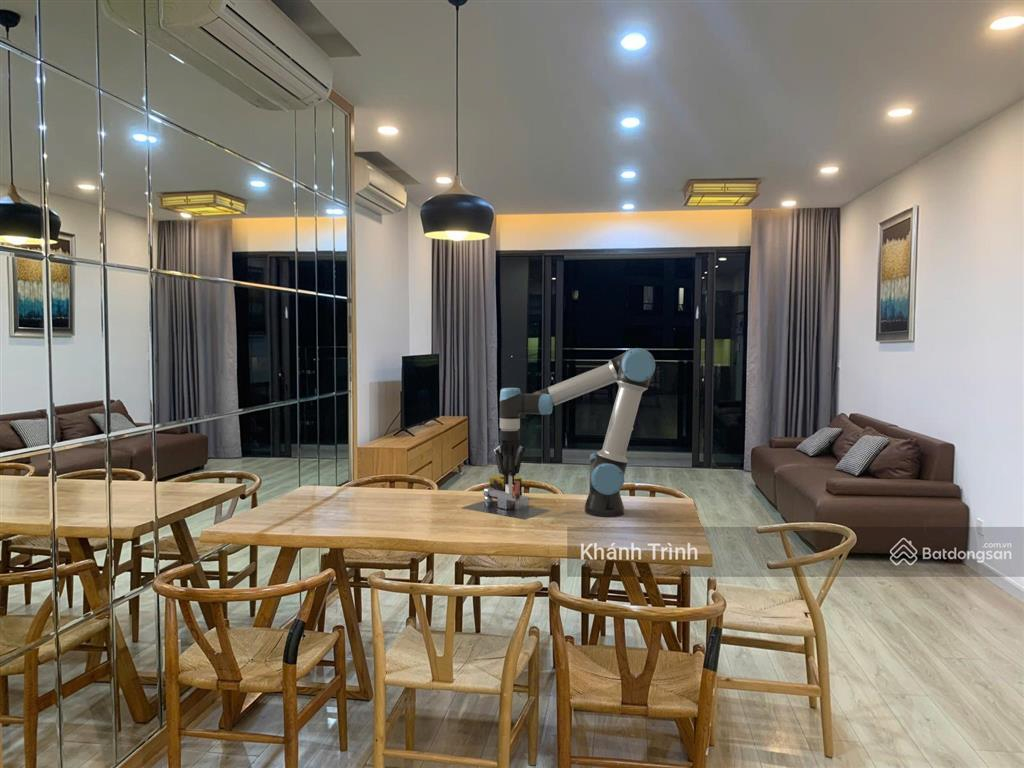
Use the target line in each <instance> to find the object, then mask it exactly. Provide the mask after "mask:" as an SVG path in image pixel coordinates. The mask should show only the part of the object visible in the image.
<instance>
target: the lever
mask: <svg viewBox="0 0 1024 768" xmlns="http://www.w3.org/2000/svg"><path fill="white" fill-rule="evenodd" d="M483 496H484V497H485V496H494V497H498V499H497V501H498V507H500V508H504V509H510V500H511V501H520V482H518V481H514V484H512V493H511V494H509V493H506V492H503V491H499V490H494V488H490V487H484V488H483Z"/></svg>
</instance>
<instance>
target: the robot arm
mask: <svg viewBox="0 0 1024 768" xmlns="http://www.w3.org/2000/svg"><path fill="white" fill-rule="evenodd" d="M655 370H656V361H655V358H654V356H653V354H652V353H651V352H649V351H648V350H647V349H644V348H641V347H640V348H639V347H635V348H631V349H628V350H626V351H625V352H623V353H622V354H620V355H618V356H615V357H614V358H612V359H609V361H608V363H605V364H604V365H601V366H599V367H596V368H593V369H591V370H588V371H585V372H583V373H580V374H577V375H576V376H574V377H570V378H568V379H566V380H563V381H560V382H557V383H556V384H553V385H550V386H548V387H546V388H543V389H540V390H537V391H534V392H532V393H522V392H521V389H520V388H519V387H503V388H501V389H500V393H499V429H500V430H499V431H498V432H499V435H498V437H499V442H498V446H497V447H496V448H493V450H492V452H493V454H494V455H495V459H496V465H497V470H498V473H499V475H504V484H506V486H505V492H506V493H509V494H511V493H512V484H514V476H516V475H517V474H520V469H521V466H522V460H523V456H524V454H525V452H526V447H523V446H521V442H520V433H521V431H520V428H521V415H524V414H525V415H541V416H544V415H551V414H552V413H553V407H554V406H558V405H560V404H562V403H565V402H567V401H569V400H573V399H575V398H578V397H580V396H582V395H585V394H588V393H591V392H593V391H596V390H598V389H600V388H603V387H605V386H608V385H611V384H614V383H617V385H618V388H617V389H618V390H617V393H616V397H615V399H614V404H613V408H612V412H611V415H610V417H609V418H610V419H609V423H608V427H607V430H606V433H605V437H604V442H603V445H602V449H601V450H599V451H597V452H595V453H591V454H590V455H589V460H588V461H589V490H588V491H589V492H588V496H587V498H586V502H585V504H584V513H586V514H587V515H591V516H596V517H608V518H609V517H610V518H611V517H612V518H613V517H619V516H622V515H624V514H625V506H624V503H623V499H622V497H621V491H620V490H621V489H622V488H623V486H624V483H625V475H626V470H627V467H628V466H627V465H628V461H629V460H628V459H627V456H626V453H627V449H628V446H629V442H630V439H631V435H632V433H633V428H634V425H635V420H636V418H637V417H636V416H637V413H638V410H639V405H640V403H641V399H642V395H643V393H644V392H645V391H647V390H648V389H649V385H650V381H651V378H652V376H653V375H654V373H655ZM501 453H502V454H501ZM502 457H503V458H502Z"/></svg>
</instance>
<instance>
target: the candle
mask: <svg viewBox="0 0 1024 768" xmlns="http://www.w3.org/2000/svg"><path fill="white" fill-rule="evenodd" d="M514 481H518V482H520V495H522V496H523V491H522V490H523V489H522V487H523V485H522V481H523V478H522V477H518V476H516V475H515V476H514ZM505 486H506V484H504V475H503V474H501V475H495V476H490V477H489V488H494V490H499V491H503V492H505ZM493 500H498V497H494V496H493Z"/></svg>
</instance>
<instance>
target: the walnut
mask: <svg viewBox="0 0 1024 768" xmlns="http://www.w3.org/2000/svg"><path fill="white" fill-rule="evenodd" d="M510 509H515V501H511V500H510Z"/></svg>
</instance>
